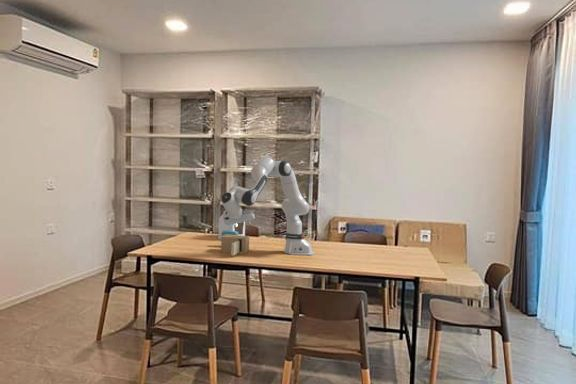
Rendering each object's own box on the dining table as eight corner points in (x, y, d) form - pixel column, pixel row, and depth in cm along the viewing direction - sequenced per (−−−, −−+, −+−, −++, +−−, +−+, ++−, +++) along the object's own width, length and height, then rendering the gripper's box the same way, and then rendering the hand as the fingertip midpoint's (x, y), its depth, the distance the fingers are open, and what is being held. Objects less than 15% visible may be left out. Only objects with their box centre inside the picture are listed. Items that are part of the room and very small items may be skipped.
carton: (248, 250, 316) (249, 235, 316) (244, 253, 307) (245, 237, 306) (225, 249, 320) (225, 234, 319) (220, 251, 310) (221, 236, 309)
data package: (238, 246, 330) (238, 231, 329) (235, 248, 326) (236, 232, 325) (223, 245, 333) (224, 230, 333) (221, 246, 329) (221, 230, 328)
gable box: (232, 241, 353) (233, 207, 351) (218, 239, 358) (219, 206, 356) (244, 237, 374) (245, 205, 372) (231, 235, 379) (232, 204, 377)
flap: (239, 252, 304) (239, 240, 303) (233, 255, 292) (234, 243, 292) (236, 251, 304) (237, 240, 304) (231, 255, 292) (231, 243, 292)
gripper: (251, 205, 277) (258, 218, 287) (221, 211, 281) (229, 223, 291) (250, 213, 273) (257, 225, 283) (220, 219, 277) (228, 231, 287)
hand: (243, 224), depth 287 cm, fingers open, 8 cm apart
